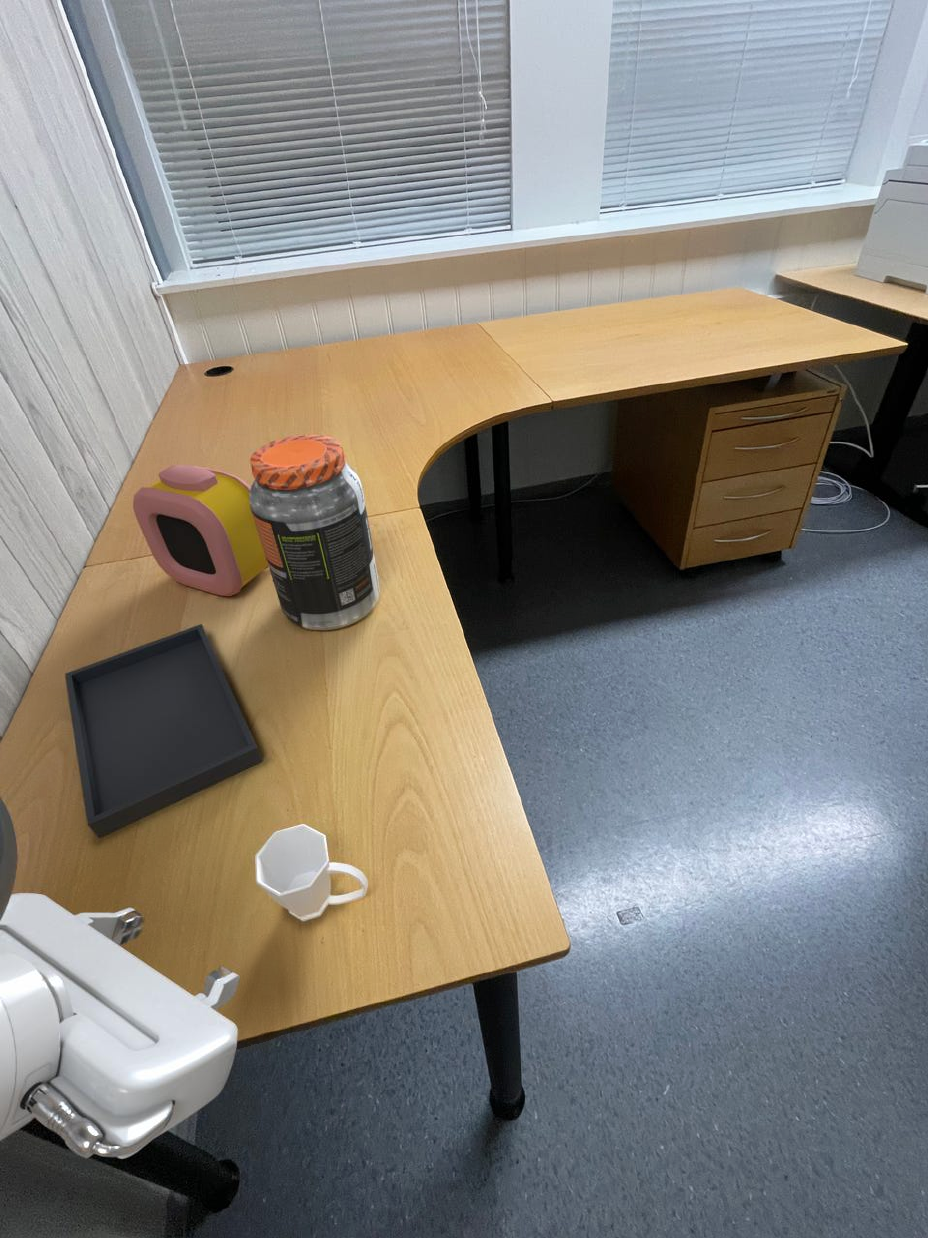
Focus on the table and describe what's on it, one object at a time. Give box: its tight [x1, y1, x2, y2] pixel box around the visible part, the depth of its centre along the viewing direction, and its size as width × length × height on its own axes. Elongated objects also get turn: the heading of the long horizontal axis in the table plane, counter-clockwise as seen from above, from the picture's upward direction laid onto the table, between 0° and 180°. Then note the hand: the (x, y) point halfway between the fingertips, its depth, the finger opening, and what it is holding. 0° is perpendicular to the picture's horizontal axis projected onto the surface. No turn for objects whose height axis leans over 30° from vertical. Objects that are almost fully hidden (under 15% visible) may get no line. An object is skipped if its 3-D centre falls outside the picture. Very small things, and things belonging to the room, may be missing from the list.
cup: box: [254, 823, 369, 922], centre depth 57 cm, size 7×10×8 cm
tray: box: [64, 623, 263, 839], centre depth 78 cm, size 28×19×3 cm
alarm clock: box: [132, 464, 269, 597], centre depth 98 cm, size 18×11×19 cm, turn 65°
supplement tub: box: [249, 434, 380, 631], centre depth 89 cm, size 16×16×26 cm
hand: (181, 949), depth 44 cm, fingers open, 8 cm apart
